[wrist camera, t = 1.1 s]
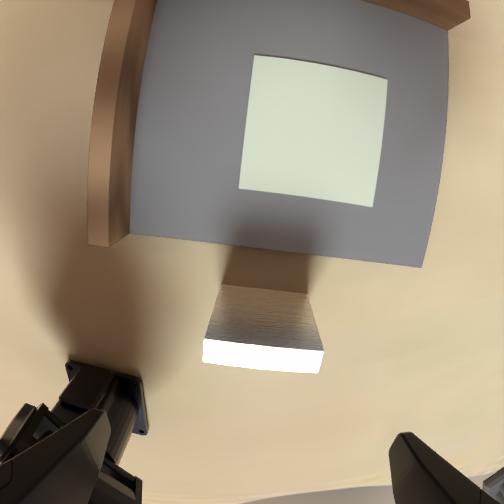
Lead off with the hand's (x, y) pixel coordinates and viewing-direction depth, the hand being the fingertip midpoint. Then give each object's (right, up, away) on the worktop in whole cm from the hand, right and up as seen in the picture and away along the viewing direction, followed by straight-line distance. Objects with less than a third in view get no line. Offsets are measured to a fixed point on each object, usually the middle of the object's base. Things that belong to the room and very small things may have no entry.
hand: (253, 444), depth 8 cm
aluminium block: (0, +1, +11) cm, 11 cm away
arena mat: (+2, +13, +7) cm, 15 cm away
